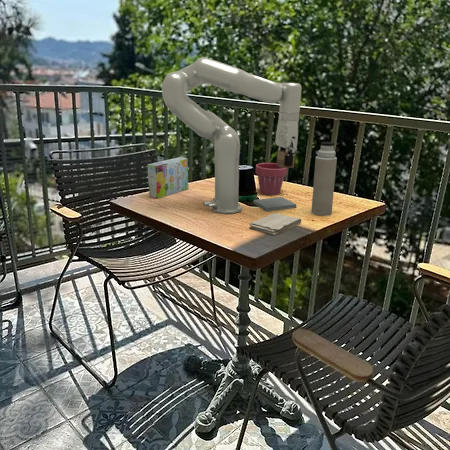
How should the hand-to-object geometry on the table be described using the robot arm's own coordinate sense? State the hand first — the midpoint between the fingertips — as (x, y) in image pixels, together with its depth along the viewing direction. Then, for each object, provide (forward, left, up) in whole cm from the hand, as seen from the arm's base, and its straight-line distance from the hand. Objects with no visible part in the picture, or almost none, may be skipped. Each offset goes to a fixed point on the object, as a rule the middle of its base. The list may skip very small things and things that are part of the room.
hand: (285, 164), depth 170 cm
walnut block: (0, 0, -1) cm, 1 cm away
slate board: (0, +7, -19) cm, 20 cm away
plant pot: (+8, +26, -19) cm, 33 cm away
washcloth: (-12, -16, -20) cm, 28 cm away
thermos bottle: (+13, -9, -19) cm, 25 cm away
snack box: (-36, +42, -19) cm, 58 cm away
